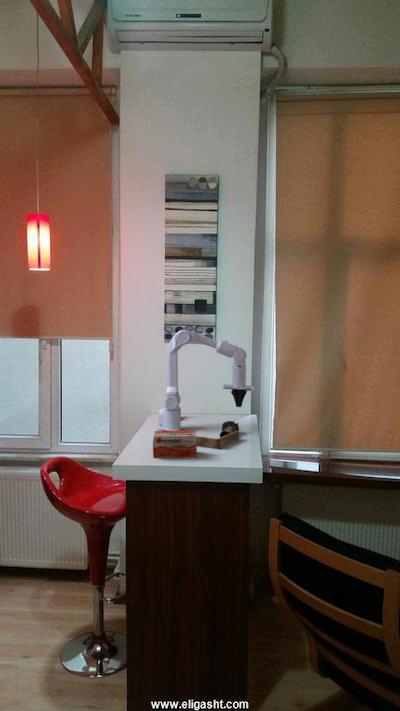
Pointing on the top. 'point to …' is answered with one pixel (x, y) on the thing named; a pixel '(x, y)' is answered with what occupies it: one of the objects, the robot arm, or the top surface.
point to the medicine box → (174, 444)
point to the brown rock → (229, 428)
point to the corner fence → (217, 440)
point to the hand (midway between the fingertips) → (238, 406)
